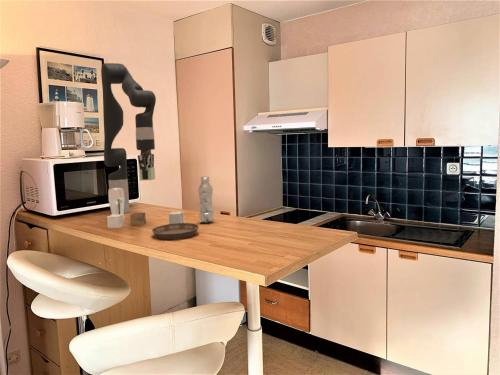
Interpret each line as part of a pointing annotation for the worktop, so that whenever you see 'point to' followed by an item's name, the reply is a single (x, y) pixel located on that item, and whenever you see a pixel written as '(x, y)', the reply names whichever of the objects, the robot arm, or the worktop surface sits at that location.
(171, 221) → the grey block
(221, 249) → the worktop surface
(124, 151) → the robot arm
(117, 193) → the beer glass
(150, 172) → the green block
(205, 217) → the plastic bottle
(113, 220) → the white block
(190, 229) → the plant saucer
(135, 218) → the walnut block
